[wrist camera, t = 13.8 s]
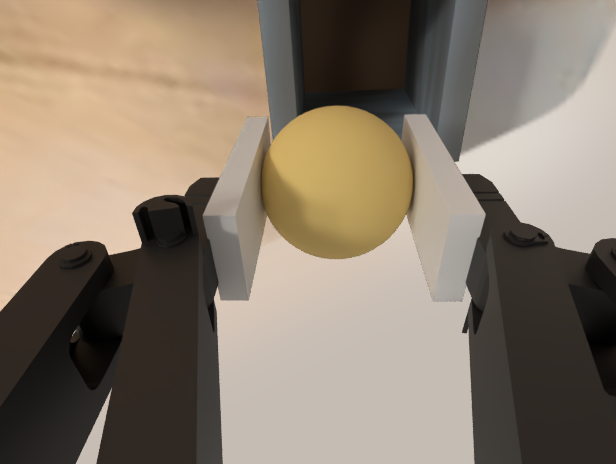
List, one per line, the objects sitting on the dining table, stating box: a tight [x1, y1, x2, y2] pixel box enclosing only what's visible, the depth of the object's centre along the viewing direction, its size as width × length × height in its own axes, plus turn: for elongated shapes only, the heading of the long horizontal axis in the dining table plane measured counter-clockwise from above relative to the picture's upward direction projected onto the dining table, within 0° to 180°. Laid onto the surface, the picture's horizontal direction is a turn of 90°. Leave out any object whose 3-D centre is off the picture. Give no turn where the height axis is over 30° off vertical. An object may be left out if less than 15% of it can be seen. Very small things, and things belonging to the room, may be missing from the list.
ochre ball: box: [261, 106, 413, 259], centre depth 13 cm, size 5×5×5 cm
